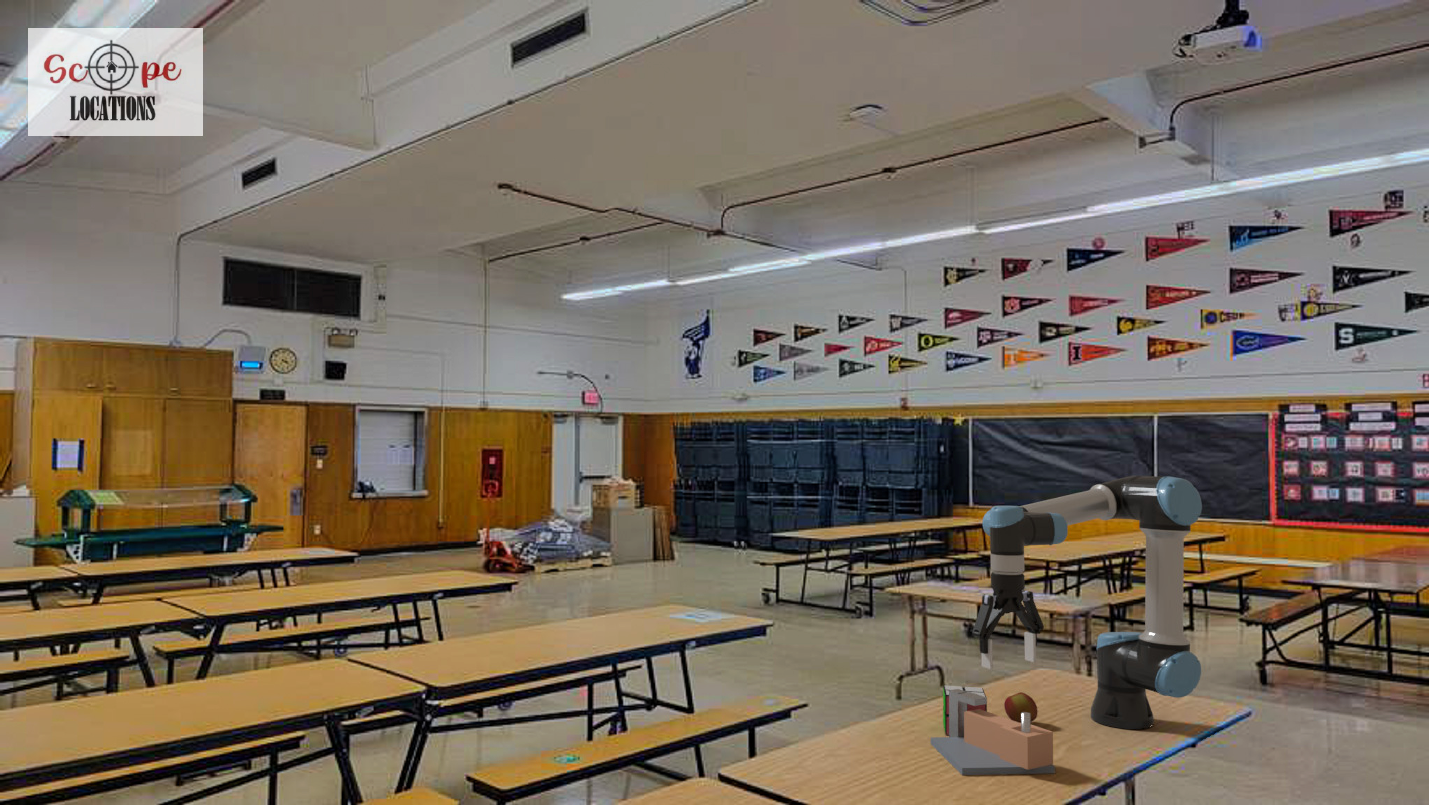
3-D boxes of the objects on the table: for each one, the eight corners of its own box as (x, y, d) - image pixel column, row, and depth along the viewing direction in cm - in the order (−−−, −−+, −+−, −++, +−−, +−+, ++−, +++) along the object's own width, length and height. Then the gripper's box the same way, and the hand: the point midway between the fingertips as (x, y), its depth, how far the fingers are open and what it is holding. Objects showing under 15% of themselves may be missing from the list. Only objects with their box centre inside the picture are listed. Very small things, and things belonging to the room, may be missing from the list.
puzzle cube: (987, 739, 221) (987, 697, 222) (945, 736, 223) (945, 695, 224) (983, 726, 231) (983, 687, 232) (943, 724, 233) (943, 684, 234)
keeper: (959, 738, 221) (959, 688, 222) (987, 749, 213) (986, 697, 214) (947, 740, 219) (947, 690, 220) (974, 751, 212) (974, 699, 212)
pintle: (1028, 766, 202) (1028, 712, 202) (1032, 769, 200) (1031, 714, 200) (1019, 766, 202) (1019, 712, 202) (1023, 769, 200) (1023, 714, 200)
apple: (1023, 718, 239) (1023, 687, 239) (1043, 727, 231) (1043, 695, 231) (998, 720, 236) (998, 689, 237) (1018, 730, 229) (1018, 698, 229)
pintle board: (1014, 742, 219) (1014, 736, 219) (1054, 773, 198) (1054, 766, 198) (930, 743, 217) (930, 737, 217) (962, 775, 196) (962, 768, 196)
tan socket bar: (959, 742, 213) (959, 712, 214) (984, 737, 217) (983, 708, 217) (1027, 769, 195) (1027, 737, 196) (1053, 764, 199) (1052, 731, 200)
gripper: (1033, 567, 219) (1035, 655, 218) (955, 573, 208) (956, 666, 207) (1058, 570, 213) (1060, 661, 212) (978, 578, 201) (980, 674, 200)
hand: (1009, 664), depth 209 cm, fingers open, 13 cm apart
